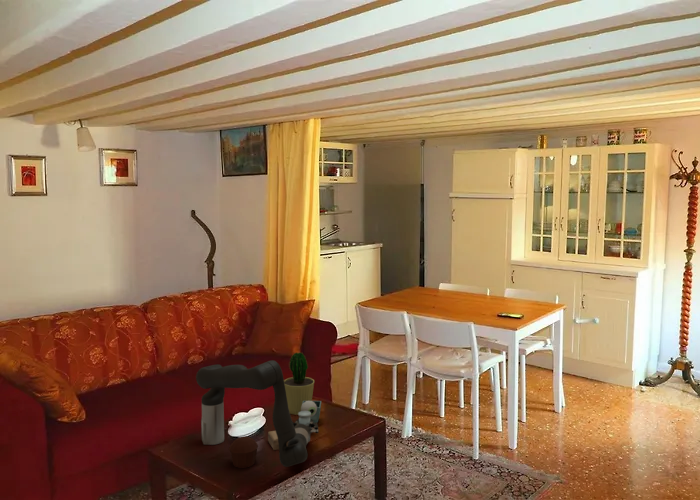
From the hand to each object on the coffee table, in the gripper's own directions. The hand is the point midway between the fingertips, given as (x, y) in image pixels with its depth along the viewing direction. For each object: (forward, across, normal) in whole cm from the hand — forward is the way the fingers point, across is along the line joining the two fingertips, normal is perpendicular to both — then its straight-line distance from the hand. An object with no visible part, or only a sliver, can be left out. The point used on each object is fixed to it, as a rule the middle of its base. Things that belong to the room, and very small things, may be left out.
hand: (305, 420), depth 252 cm
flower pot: (+21, 0, +9) cm, 23 cm away
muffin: (-22, +22, +10) cm, 32 cm away
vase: (-3, 0, +8) cm, 8 cm away
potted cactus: (+36, +8, +10) cm, 38 cm away
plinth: (-3, +10, +9) cm, 14 cm away
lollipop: (+8, -1, +9) cm, 13 cm away
